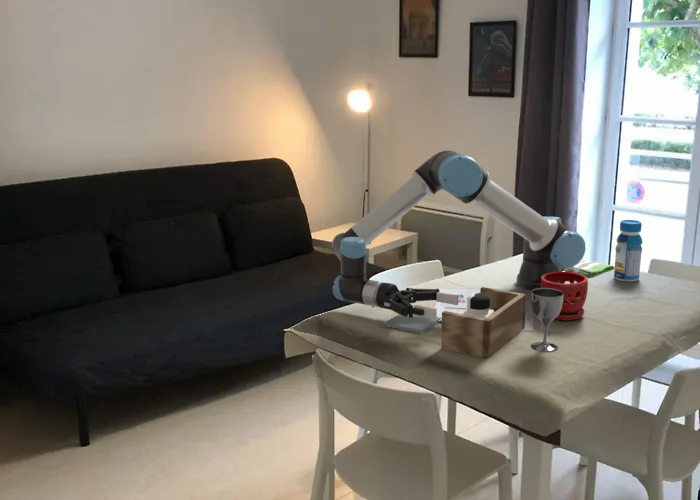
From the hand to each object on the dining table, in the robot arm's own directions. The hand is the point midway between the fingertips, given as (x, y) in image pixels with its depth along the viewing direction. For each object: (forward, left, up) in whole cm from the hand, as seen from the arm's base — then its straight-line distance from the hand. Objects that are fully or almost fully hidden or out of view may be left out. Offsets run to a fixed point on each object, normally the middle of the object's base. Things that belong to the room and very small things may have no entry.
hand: (447, 306), depth 205 cm
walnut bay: (+10, +5, -7) cm, 13 cm away
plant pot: (+7, +36, -7) cm, 38 cm away
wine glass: (+23, +15, -7) cm, 28 cm away
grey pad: (-10, -5, -7) cm, 13 cm away
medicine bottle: (+8, +4, -7) cm, 12 cm away
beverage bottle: (-10, +82, -7) cm, 83 cm away
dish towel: (-30, +78, -8) cm, 84 cm away
